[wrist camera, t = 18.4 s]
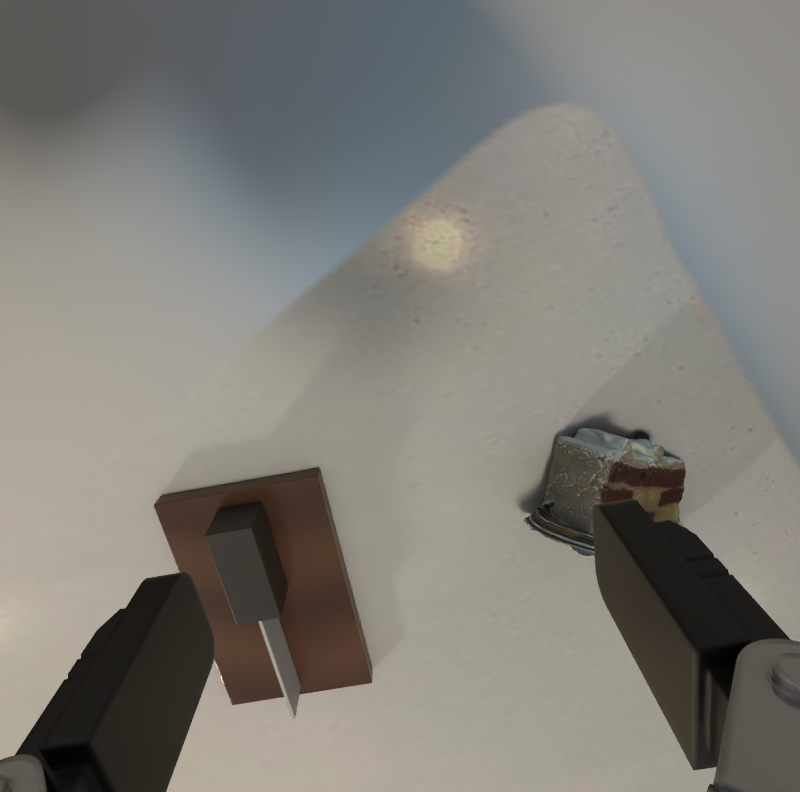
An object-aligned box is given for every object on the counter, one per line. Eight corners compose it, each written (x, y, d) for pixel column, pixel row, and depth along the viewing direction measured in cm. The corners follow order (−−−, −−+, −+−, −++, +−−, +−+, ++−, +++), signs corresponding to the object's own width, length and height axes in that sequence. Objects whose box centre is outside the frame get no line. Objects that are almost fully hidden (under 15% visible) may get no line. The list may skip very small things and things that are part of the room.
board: (160, 495, 37) (152, 505, 36) (319, 467, 37) (317, 476, 35) (235, 692, 43) (231, 705, 42) (372, 670, 43) (372, 683, 42)
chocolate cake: (721, 442, 37) (678, 446, 28) (703, 544, 37) (654, 581, 28) (584, 418, 43) (511, 414, 34) (569, 506, 43) (493, 526, 34)
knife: (217, 509, 36) (203, 535, 33) (262, 501, 36) (251, 527, 33) (280, 689, 42) (272, 724, 39) (318, 682, 41) (313, 718, 39)
